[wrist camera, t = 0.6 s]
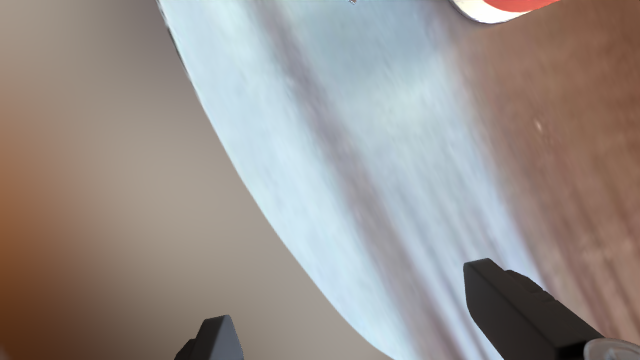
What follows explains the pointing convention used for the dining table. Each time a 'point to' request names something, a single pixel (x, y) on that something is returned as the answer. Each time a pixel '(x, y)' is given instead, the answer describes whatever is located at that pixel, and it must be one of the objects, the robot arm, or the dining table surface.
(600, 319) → the dining table surface
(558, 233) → the dining table surface
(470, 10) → the coffee tin
